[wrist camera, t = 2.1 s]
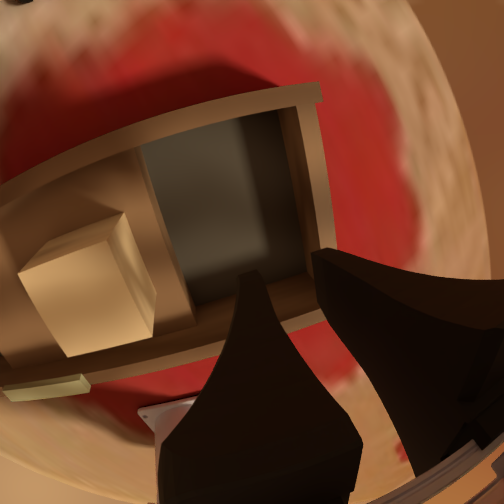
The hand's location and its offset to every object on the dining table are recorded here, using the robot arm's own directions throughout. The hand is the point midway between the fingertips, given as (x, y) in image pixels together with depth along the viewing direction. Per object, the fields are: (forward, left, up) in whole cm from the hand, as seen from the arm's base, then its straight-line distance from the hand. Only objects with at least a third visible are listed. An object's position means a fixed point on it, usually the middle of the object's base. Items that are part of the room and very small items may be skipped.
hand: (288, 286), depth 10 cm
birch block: (0, +9, -7) cm, 11 cm away
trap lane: (0, +13, -9) cm, 16 cm away
